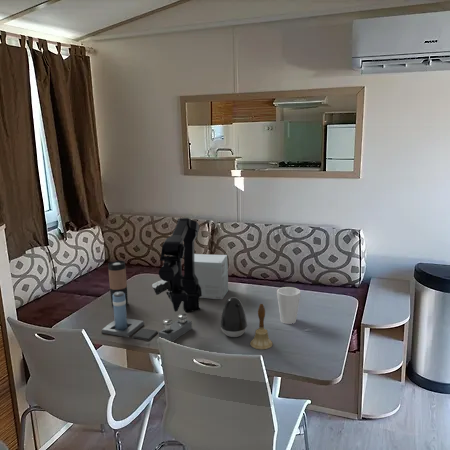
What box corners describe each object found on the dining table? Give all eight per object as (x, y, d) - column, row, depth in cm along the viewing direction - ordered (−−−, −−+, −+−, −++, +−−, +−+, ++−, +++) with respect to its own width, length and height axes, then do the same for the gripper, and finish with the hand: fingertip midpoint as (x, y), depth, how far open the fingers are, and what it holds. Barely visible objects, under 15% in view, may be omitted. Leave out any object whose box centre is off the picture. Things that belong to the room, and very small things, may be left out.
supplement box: (229, 289, 223) (228, 254, 219) (222, 300, 211) (221, 262, 207) (195, 287, 227) (194, 253, 223) (187, 297, 214) (185, 261, 210)
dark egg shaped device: (228, 342, 170) (228, 305, 166) (216, 332, 179) (215, 295, 175) (252, 336, 174) (251, 299, 171) (239, 326, 183) (238, 290, 180)
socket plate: (143, 324, 187) (143, 320, 186) (127, 337, 176) (127, 333, 175) (119, 320, 191) (118, 317, 190) (101, 332, 180) (101, 329, 180)
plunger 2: (186, 323, 183) (185, 313, 182) (188, 326, 180) (187, 316, 179) (177, 324, 182) (176, 314, 181) (179, 328, 179) (178, 318, 178)
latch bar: (181, 325, 185) (180, 318, 184) (191, 328, 182) (191, 321, 181) (158, 339, 173) (158, 331, 172) (169, 342, 170) (169, 335, 170)
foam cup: (286, 314, 194) (286, 285, 191) (304, 320, 187) (304, 290, 184) (272, 321, 187) (272, 291, 184) (290, 327, 181) (290, 297, 178)
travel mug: (124, 308, 203) (120, 265, 199) (108, 307, 205) (104, 265, 200) (130, 301, 211) (127, 260, 206) (115, 300, 212) (112, 260, 208)
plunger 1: (171, 328, 175) (171, 318, 174) (173, 332, 172) (173, 322, 171) (162, 330, 174) (161, 319, 173) (164, 334, 171) (163, 323, 170)
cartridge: (127, 326, 185) (124, 290, 182) (128, 331, 180) (125, 294, 177) (114, 328, 184) (111, 292, 180) (115, 333, 179) (112, 296, 176)
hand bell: (277, 345, 167) (277, 304, 164) (259, 352, 162) (259, 310, 159) (262, 336, 174) (262, 297, 170) (245, 343, 169) (245, 303, 165)
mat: (157, 332, 179) (157, 330, 179) (148, 340, 173) (148, 338, 172) (142, 330, 181) (142, 328, 181) (132, 337, 175) (132, 335, 175)
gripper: (149, 268, 179) (151, 305, 182) (157, 282, 161) (159, 323, 165) (177, 265, 182) (178, 301, 185) (187, 279, 165) (189, 319, 168)
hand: (175, 311), depth 176 cm, fingers closed
